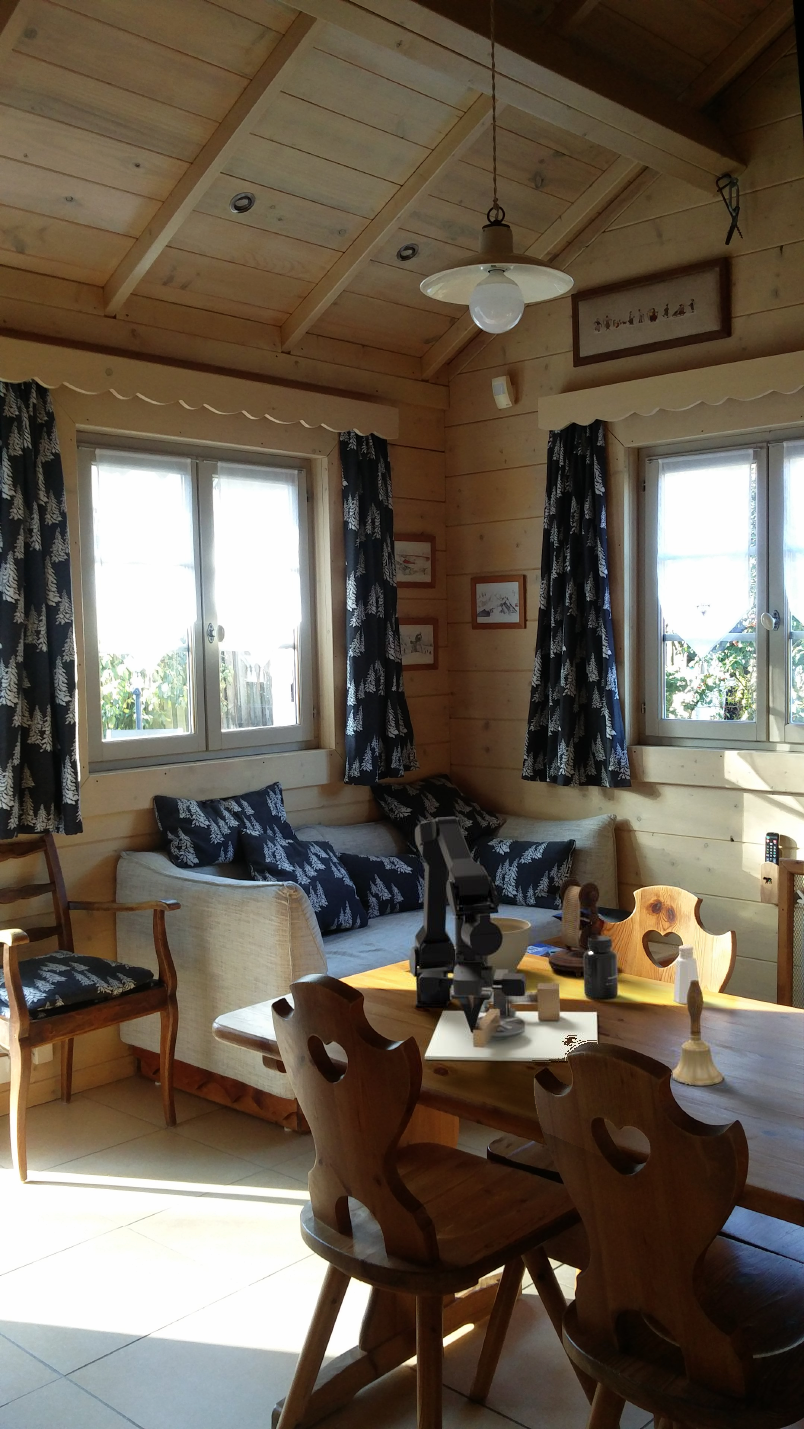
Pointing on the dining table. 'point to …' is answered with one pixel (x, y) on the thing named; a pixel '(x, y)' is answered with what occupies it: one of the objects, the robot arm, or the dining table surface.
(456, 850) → the robot arm
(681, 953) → the pepper shaker
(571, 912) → the brown upright piece
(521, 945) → the planter bowl
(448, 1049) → the white board
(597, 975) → the supplement bottle
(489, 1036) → the handwheel
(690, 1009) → the hand bell
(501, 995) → the iron eye
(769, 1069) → the dining table surface
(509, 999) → the wooden mallet
